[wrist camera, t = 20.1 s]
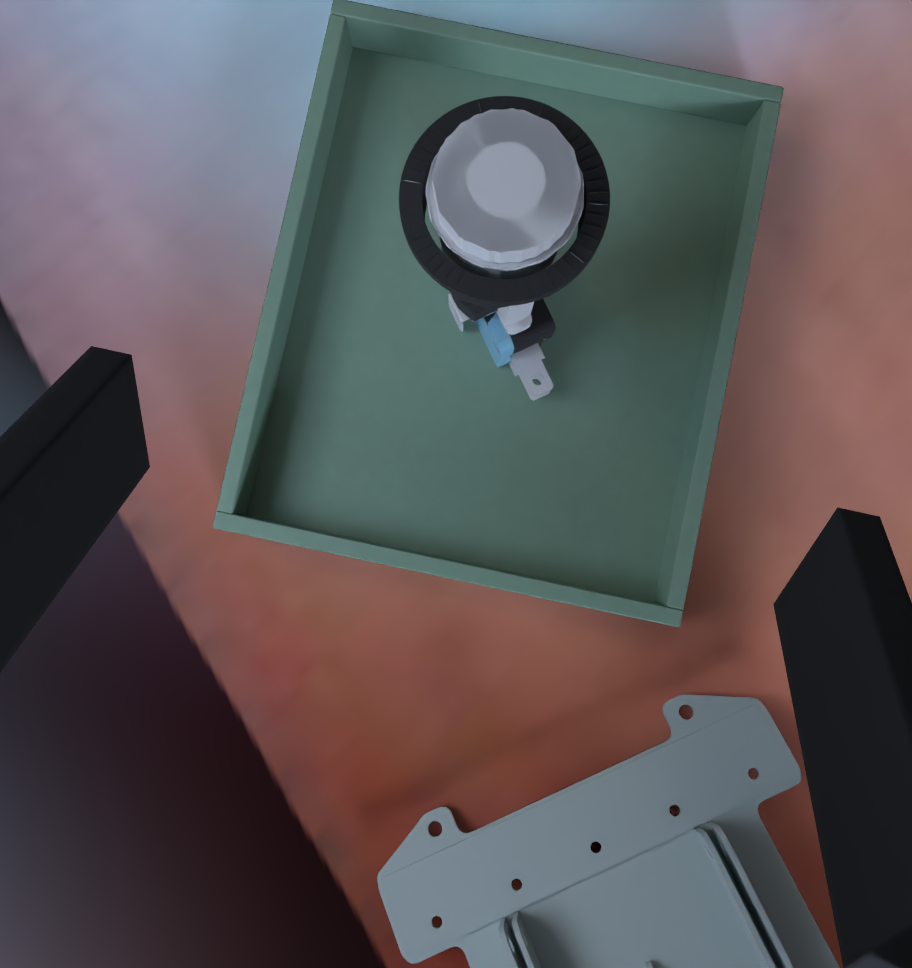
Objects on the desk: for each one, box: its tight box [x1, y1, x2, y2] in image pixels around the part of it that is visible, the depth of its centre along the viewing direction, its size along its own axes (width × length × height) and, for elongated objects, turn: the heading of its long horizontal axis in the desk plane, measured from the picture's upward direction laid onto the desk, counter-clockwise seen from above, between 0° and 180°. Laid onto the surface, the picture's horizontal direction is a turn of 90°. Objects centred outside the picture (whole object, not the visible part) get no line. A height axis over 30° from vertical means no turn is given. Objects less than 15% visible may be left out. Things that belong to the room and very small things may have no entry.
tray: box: [213, 0, 783, 627], centre depth 28 cm, size 19×16×2 cm
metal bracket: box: [377, 694, 840, 968], centre depth 26 cm, size 14×6×15 cm
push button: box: [399, 96, 610, 401], centre depth 23 cm, size 7×5×10 cm
